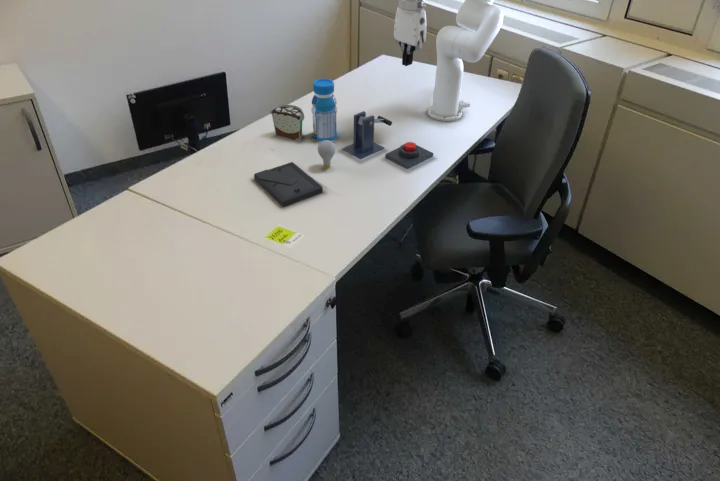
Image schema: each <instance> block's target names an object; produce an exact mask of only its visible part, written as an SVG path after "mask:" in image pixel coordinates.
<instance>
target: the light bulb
mask: <svg viewBox="0 0 720 481" xmlns="http://www.w3.org/2000/svg"><path fill="white" fill-rule="evenodd" d="M336 150H337V149H336V145H335V143H334V142H332V140H331V141H329V140H324V141H320V142H319V143H318V146H317V153H318V155H319V156H320V158H321V159H322V163H323V168H324V169H325V170H328V169H330V168H331V164H332V162H331V161H332V160H333V157H334V155H335V154H336Z"/></svg>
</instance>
